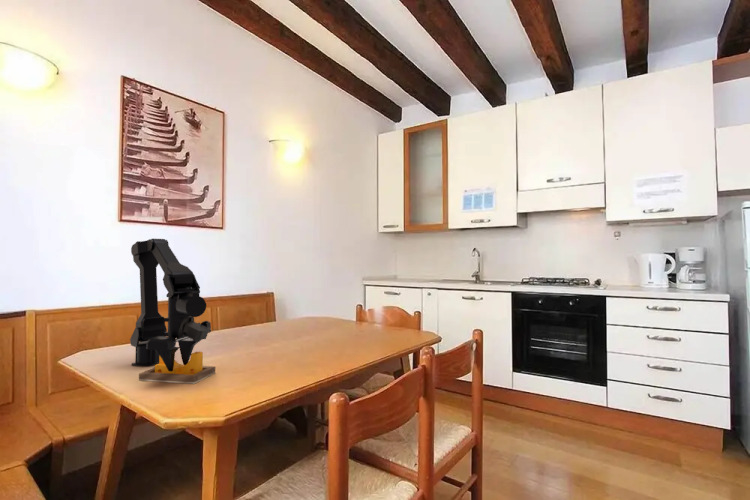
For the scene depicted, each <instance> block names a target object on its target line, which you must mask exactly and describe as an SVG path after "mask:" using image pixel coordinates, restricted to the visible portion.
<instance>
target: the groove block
mask: <svg viewBox="0 0 750 500" xmlns="http://www.w3.org/2000/svg"><path fill="white" fill-rule="evenodd" d="M214 374H216V366H210V365H208V366H207V365H203V369H202V371H200V372H198V373H196V374H194V375H186V374H168V373H155V367H153V368H150V369H147V370H145V371H143V372H140V373H138V381H142V382H158V383H159V382H160V383H174V384H175V383H176V384H177V383H178V384H188V385H189V384H190V385H191V384H193V385H195V384H197V383H200V382H201V381H203V380H205V379H207V378H209V377H210V376H213V375H214Z"/></svg>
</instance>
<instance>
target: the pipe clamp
mask: <svg viewBox="0 0 750 500" xmlns="http://www.w3.org/2000/svg"><path fill="white" fill-rule="evenodd" d="M203 354H204V353H203V351H194V352H192V353H191V356H190V359H189V362H188V363H187V364H186V365H183V364H181V363H179V362H177V360H175V359H174V367H173V371H168V369H167V367H166V365H165V363H164V362H163V360H162V358H161V357H160V355H159V363H156V364H154V368H155V373H168V374H186V375H194V374H196V373H198V372H200V371H202V369H203V366H204V365H203V362H204V361H203V356H204V355H203Z"/></svg>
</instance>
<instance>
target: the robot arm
mask: <svg viewBox="0 0 750 500" xmlns="http://www.w3.org/2000/svg"><path fill="white" fill-rule="evenodd" d="M130 251H131V255H132V259H133V262H134V264H135V266H137V267H138V269H139V283H140V284H139V285H140V286H139V289H140V315H139V317H138V318H137V320H136V322H135V328H134V330H133V332H132V335H131V336H130V339H129V341H130V346H132V347H135V360H134V361H135V362H132V363H131V366H142V367H143V366H144V367H151V366H153V365H157V364H159V355H160V357H161V358H162V360H163V362H164V363H165V365H166V367H167V369H168V371H173V367H174V360H175V358H176V352H177V351H178V350H179V351H180V357H181V361H182V365H186V364H187V363H188V362H189V360H190V358H191V354H192V353H193V350H194V348H195V345H197V344H198V343H199V342H201V341H203V340H206V339H207V337H208V335H209V334H210V333H211V332H212V329H211V328H212V327H211V326H212V325H211V324H212V323H211V322H210V321H209V320H205V321H201V322H195V318H198V317H200V316H202V315H203V314H204V313H205V311H206V309H207V302H206V300H205V299H204V298H203V297H202V296H200V293H201V290H200V288H201V287H200V285H199V283H198V281H197V278H196V275H195V274H194V272H193V271H192V270H191V269H190V268H189V266H186V265H185V264H184V265H183V264H182V263H180V261H179V259H178V257H177V256H176V255H175V253H174V252H173V250H172V248H171V247H170V245H169V241H168V239H165V238H150V239H148V240H143V241H142V240H141V241H136V242H135V243H133V244H132V245H131V249H130ZM158 266H159V267H160V268H161V270H162V271H163V277H162V281H163V285H164V287H165V289H166V290H167V292H168V293H167V294H166V298H167V316H166V317H164V316H162V315H161V314H160V312H159V301H158V299H159V298H158V276H157V268H158ZM166 323H167V327H166ZM177 343H178V346H176V345H177Z"/></svg>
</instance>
